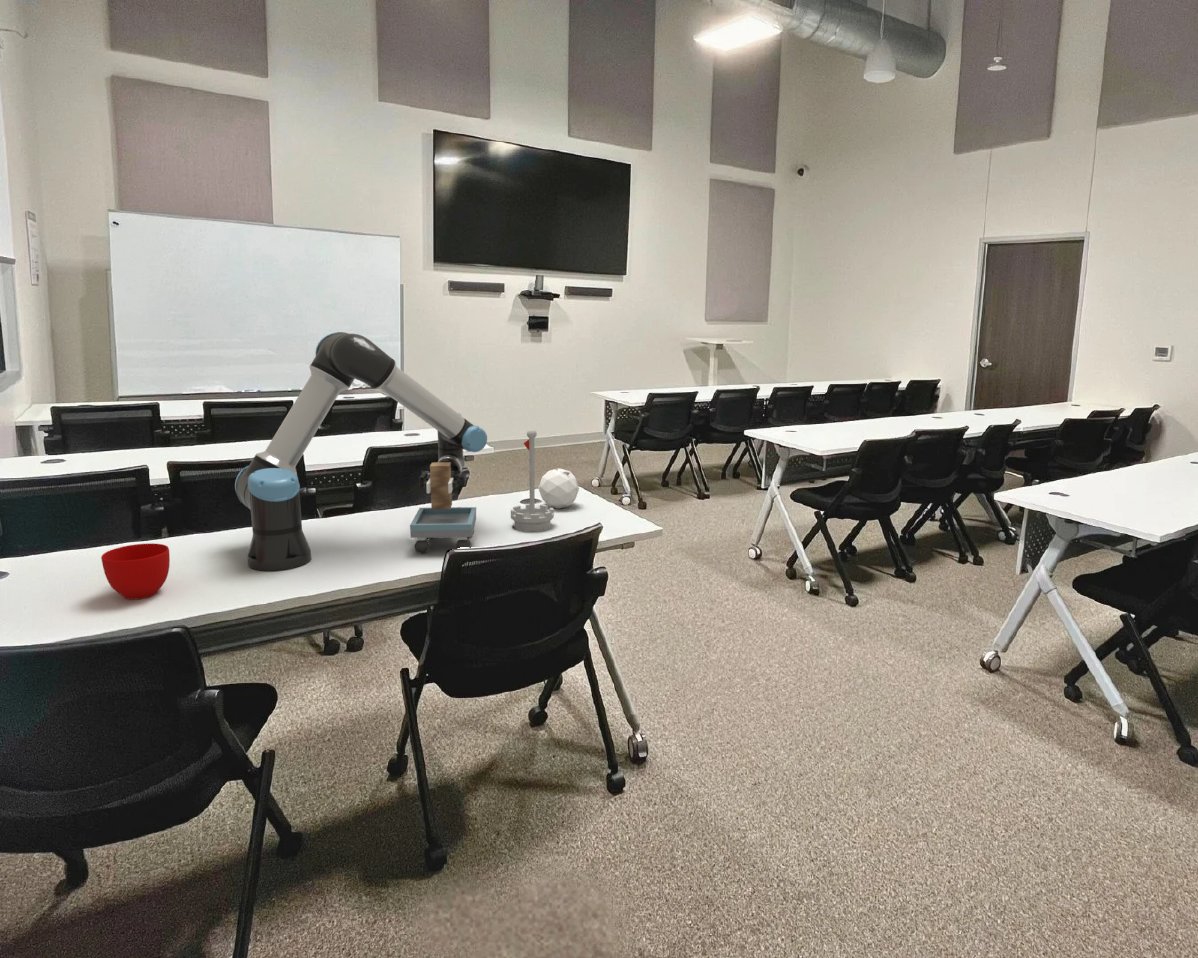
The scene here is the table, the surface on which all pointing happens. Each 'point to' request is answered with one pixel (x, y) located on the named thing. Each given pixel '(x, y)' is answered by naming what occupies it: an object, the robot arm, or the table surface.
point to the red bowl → (137, 569)
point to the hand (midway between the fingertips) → (438, 488)
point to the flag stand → (532, 500)
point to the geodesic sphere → (558, 488)
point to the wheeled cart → (443, 526)
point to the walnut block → (440, 485)
